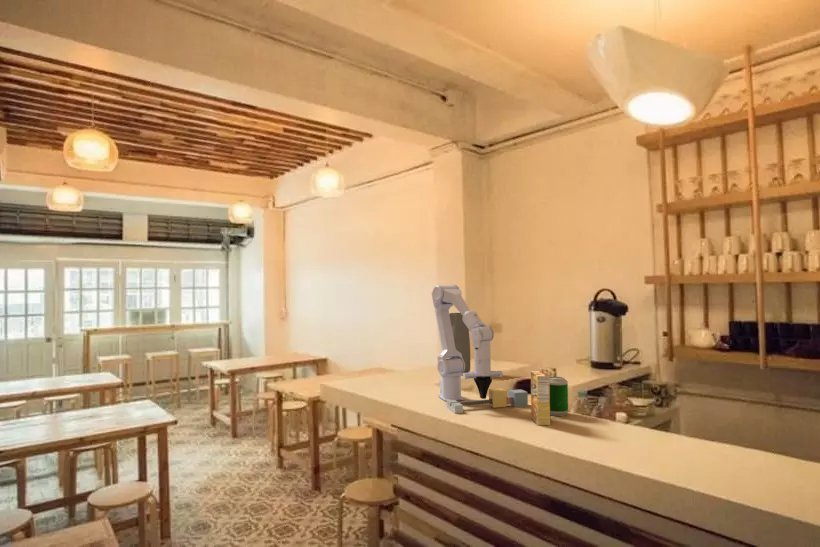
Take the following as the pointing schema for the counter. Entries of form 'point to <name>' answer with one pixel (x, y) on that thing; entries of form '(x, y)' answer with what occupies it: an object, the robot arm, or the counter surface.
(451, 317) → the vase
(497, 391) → the sleeve
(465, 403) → the red-tipped gray rod
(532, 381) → the candy box
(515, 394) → the block
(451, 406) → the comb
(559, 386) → the soda can
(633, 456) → the counter surface
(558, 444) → the counter surface
